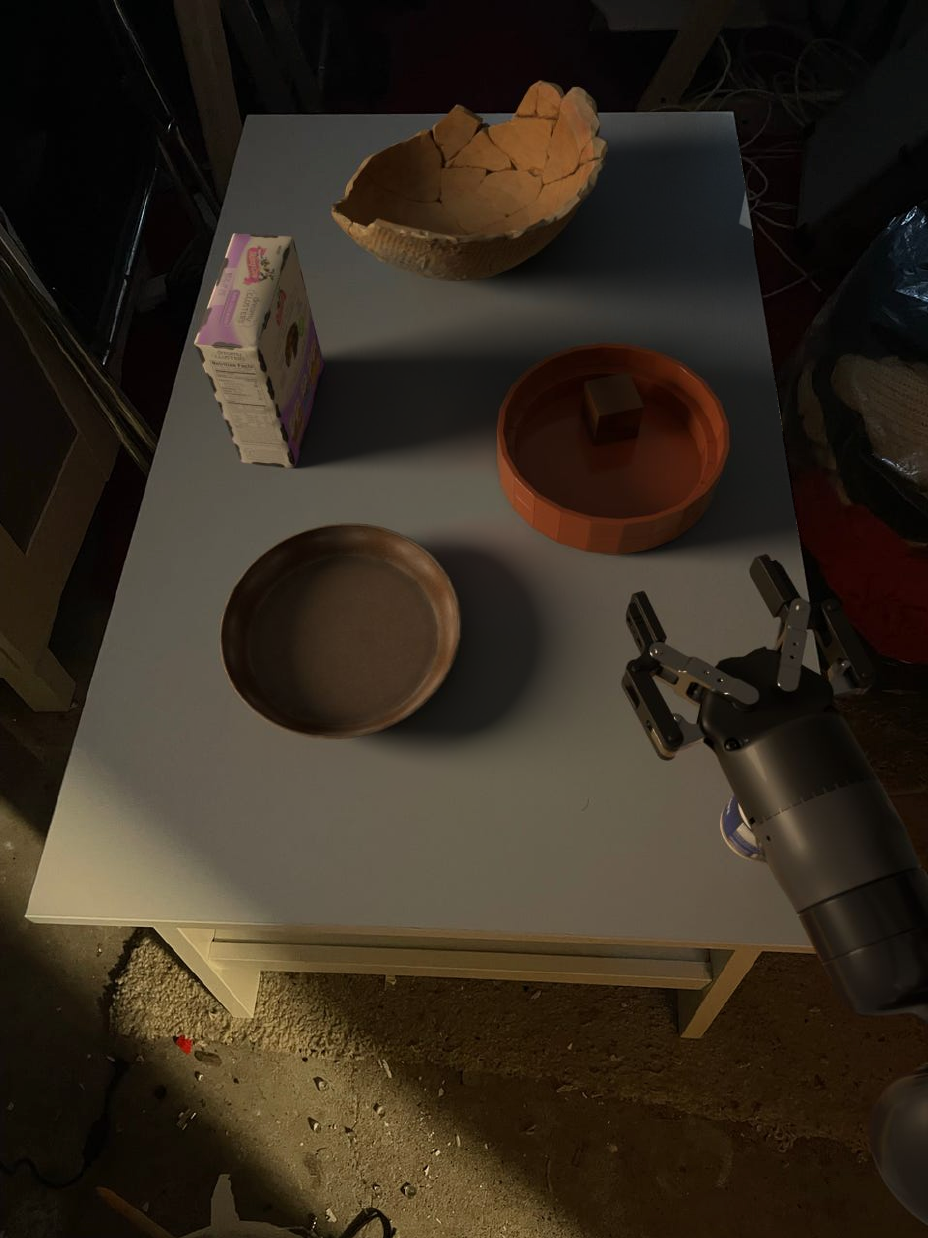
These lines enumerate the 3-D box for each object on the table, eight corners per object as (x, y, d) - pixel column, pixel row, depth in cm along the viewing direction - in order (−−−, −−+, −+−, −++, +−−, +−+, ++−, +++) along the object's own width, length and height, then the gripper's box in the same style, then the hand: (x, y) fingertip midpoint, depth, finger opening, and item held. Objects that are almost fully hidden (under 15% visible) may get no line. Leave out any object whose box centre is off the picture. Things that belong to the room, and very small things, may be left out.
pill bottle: (738, 781, 72) (771, 740, 63) (800, 819, 70) (842, 782, 62) (706, 836, 70) (735, 801, 61) (768, 876, 68) (808, 846, 60)
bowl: (714, 389, 91) (727, 350, 86) (717, 566, 81) (732, 533, 76) (508, 375, 93) (509, 336, 88) (486, 547, 83) (486, 513, 78)
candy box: (272, 360, 95) (232, 228, 80) (326, 365, 94) (295, 233, 80) (239, 464, 88) (189, 341, 74) (296, 469, 88) (258, 347, 73)
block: (623, 403, 90) (629, 371, 86) (637, 437, 88) (644, 406, 84) (580, 412, 89) (584, 380, 85) (593, 446, 87) (598, 416, 83)
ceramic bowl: (386, 126, 110) (394, 1, 96) (595, 194, 110) (632, 79, 96) (301, 301, 97) (295, 186, 84) (537, 377, 98) (570, 275, 84)
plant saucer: (510, 625, 79) (510, 608, 76) (349, 801, 72) (343, 789, 69) (342, 505, 86) (337, 484, 83) (181, 654, 79) (169, 638, 76)
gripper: (960, 753, 48) (813, 516, 55) (717, 836, 46) (599, 580, 54) (903, 794, 55) (779, 578, 62) (689, 868, 53) (588, 636, 60)
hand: (696, 579), depth 58 cm, fingers open, 8 cm apart
